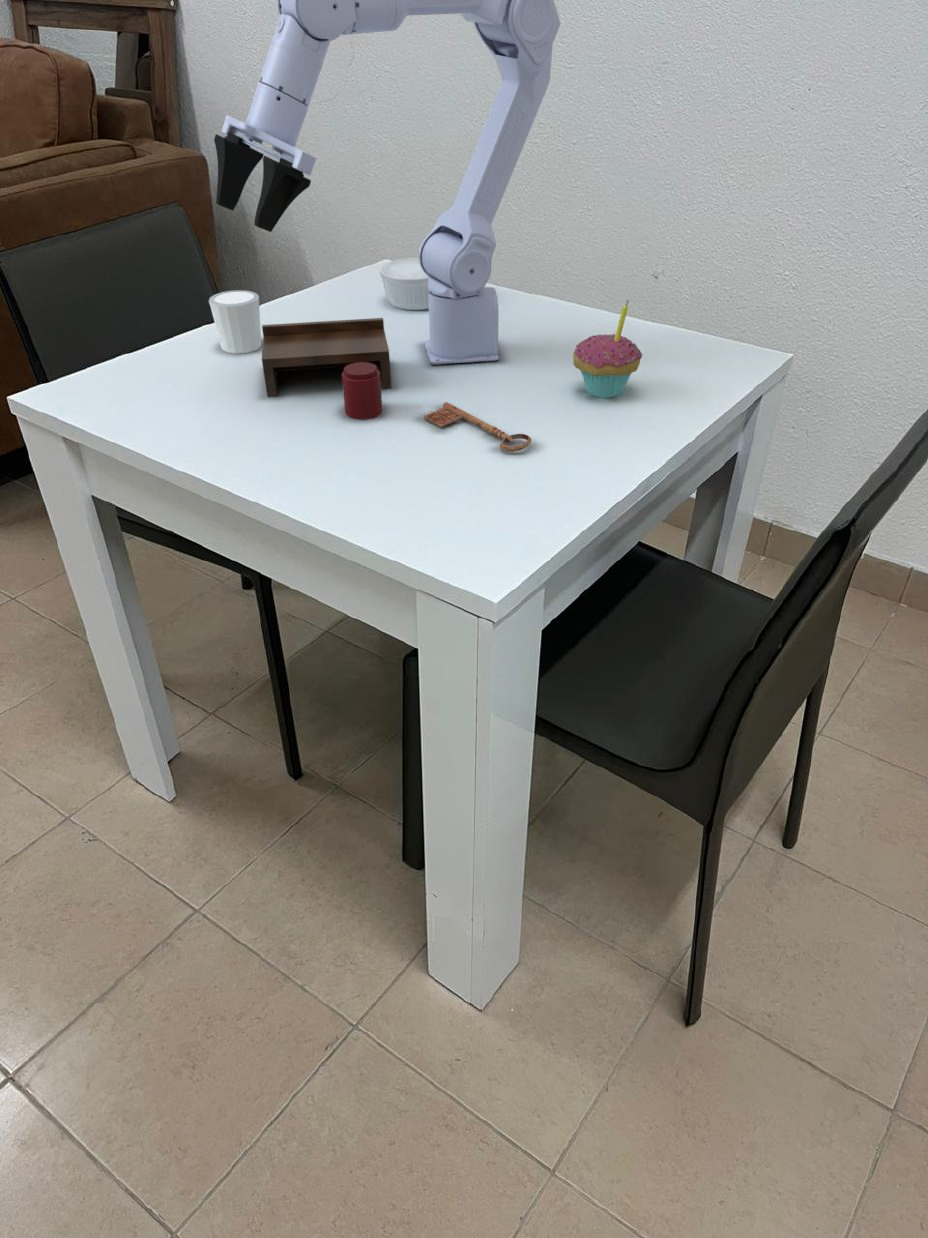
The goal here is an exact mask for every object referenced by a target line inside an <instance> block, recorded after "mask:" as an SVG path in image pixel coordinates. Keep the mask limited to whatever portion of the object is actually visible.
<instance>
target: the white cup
mask: <svg viewBox="0 0 928 1238" xmlns="http://www.w3.org/2000/svg"><path fill="white" fill-rule="evenodd" d="M208 304H209V306H210V310H211V313H212V314H211V315H212V318H213V321H214V325H215V329H216V332H217V336H218V340H219V344H220V347H221V350H222V351H223V352H225V353H228V354H235V355H236V354H237V355H238V354H247V353H253V352H254V351H257V350H258V349H260V348H261V347H262V333H261V332H262V331H261V330H262V328H261V311H260V296H259V294H258V293H256V292H254V291H251V290H244V289H243V290H241V289H239V290H237V289H236V290H227V291H226V290H225V291H221V292H218V293H215V294H213V295H211V296H210V297H209V299H208Z"/></svg>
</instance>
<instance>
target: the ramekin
mask: <svg viewBox="0 0 928 1238" xmlns="http://www.w3.org/2000/svg"><path fill="white" fill-rule="evenodd" d="M379 276H380V278H381V280H382V286H383V289H384V293H385V297H386V300H387V301H388V303H389V304H390V305H391V306H392V307H394V308H396V309H400V310H406V311H408V310H409V311H423V310H429V297H428V275H427V274H425V273H424V271H423V270H422V268H421V267H420V264H419V257H418V256H417V257H406V258H400V259H399V258H398V259H395V260H392V261H389V262H387V263H385V264H383V265H382V266H381V267H380V269H379Z"/></svg>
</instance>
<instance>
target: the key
mask: <svg viewBox="0 0 928 1238" xmlns="http://www.w3.org/2000/svg"><path fill="white" fill-rule="evenodd" d="M423 419H425V420H426V421H428V422H430V423H432V424H433V425H435V426H437V427H439V428H444V427H446V426H448V425H450V424H452V423H454V422H457V421H460V420H462V419H464V420H466V421H467V422H469V423H471V424H473V425H475V426H477V427H479V428H481V429H482V430H485V431H486V432H488V433H489V434H490V435H493V436H495V437H497V438H499V439H500V440H501V441H500V448H501V449H502V450H503V451H506V452H519V451H521V450H524V449H526V448H528V447H529V446H530V445H531V443H532V437H531V436H530V435H528V434H524V433H514V434H511V435H509V434H507V433H506V432H505V431H504V430H501V429H499V428H497V427H496V426H495V425H494V426H493V425H491V424H489V423H487V422H485V421H484V420H482V419H480V418H477V416H474V415H472V414H470V413H468V412H466V411H464V410H462V409H461V408H459V407H457V406H455V405H453V404H451V403H449V402H448V401H445V402H444V403H443V404H442V407H441V408H439V409H436V410H435V411H433V412H430V413H427V414H425V415H424V416H423ZM518 439H519V440H520V439H522V440H525V441H526V442H524V443H522V444H519V445H514V446H509V445H506V443H514V442H515V440H518Z"/></svg>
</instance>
